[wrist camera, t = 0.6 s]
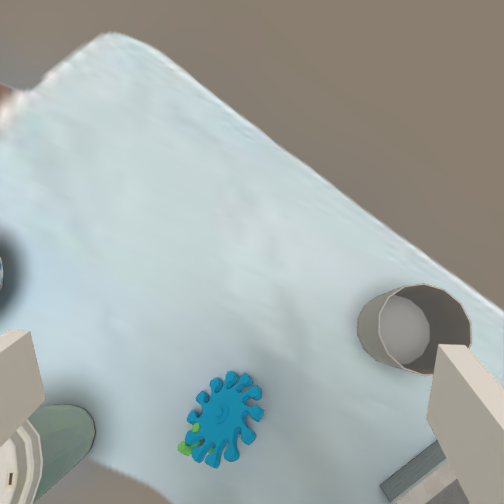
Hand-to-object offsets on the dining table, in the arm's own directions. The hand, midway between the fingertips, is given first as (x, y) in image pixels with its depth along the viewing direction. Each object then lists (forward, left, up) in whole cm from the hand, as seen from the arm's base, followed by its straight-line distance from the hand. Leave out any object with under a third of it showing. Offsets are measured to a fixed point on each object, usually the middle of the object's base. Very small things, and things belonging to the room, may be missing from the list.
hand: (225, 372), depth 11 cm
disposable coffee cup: (+6, +26, -33) cm, 42 cm away
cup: (-7, -13, -33) cm, 36 cm away
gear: (-3, +9, -33) cm, 34 cm away
